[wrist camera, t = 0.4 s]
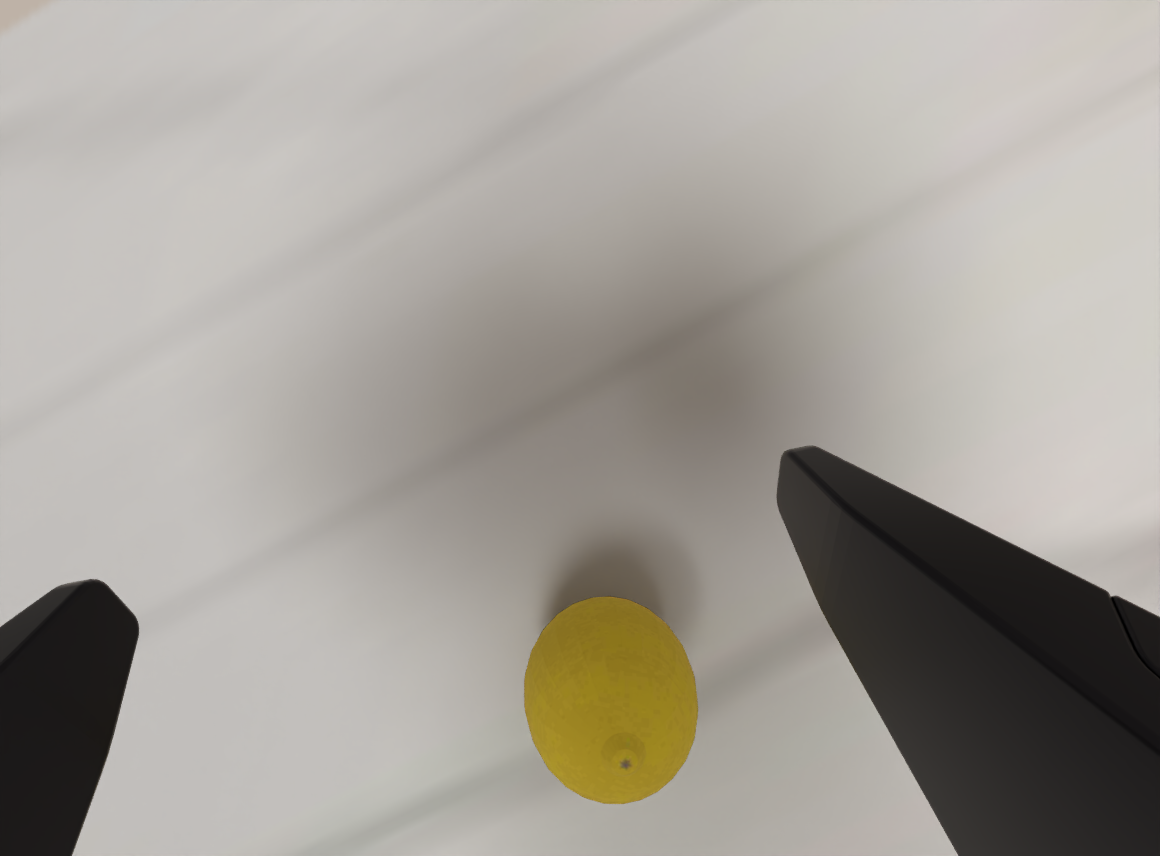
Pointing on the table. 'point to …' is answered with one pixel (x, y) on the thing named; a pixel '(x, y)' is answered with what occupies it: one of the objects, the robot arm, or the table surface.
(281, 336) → the table surface
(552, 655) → the lemon
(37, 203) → the table surface
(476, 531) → the table surface
